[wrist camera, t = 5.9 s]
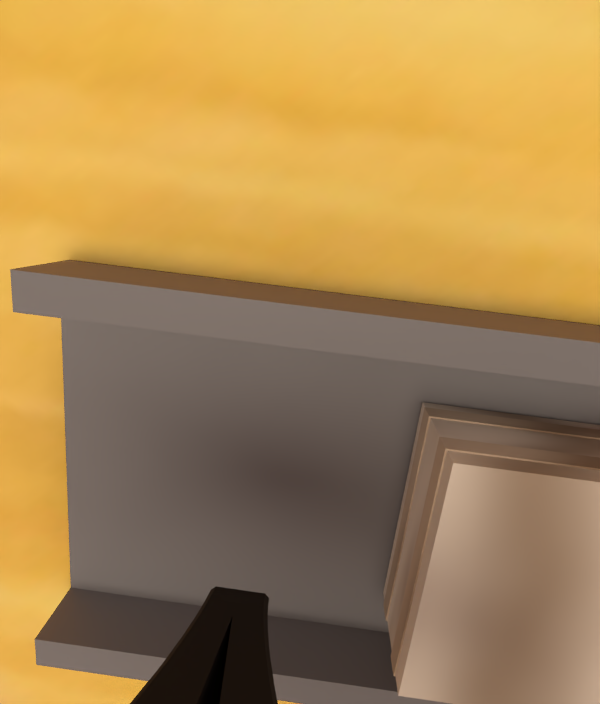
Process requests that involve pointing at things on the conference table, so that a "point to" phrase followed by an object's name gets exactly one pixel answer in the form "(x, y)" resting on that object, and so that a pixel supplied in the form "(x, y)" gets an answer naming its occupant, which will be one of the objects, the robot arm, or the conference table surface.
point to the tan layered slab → (497, 561)
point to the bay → (262, 456)
